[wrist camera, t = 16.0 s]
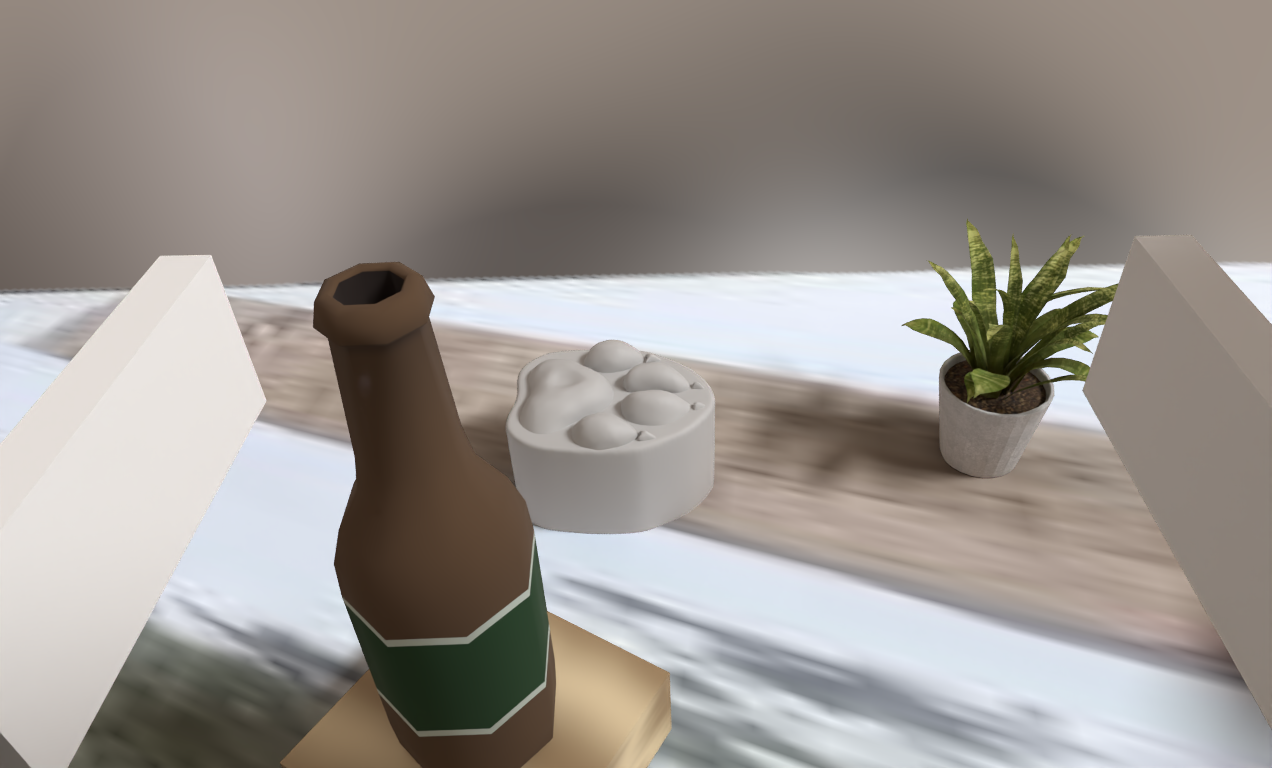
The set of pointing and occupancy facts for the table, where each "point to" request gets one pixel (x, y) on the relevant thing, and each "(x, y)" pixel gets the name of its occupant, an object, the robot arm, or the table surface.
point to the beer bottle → (433, 541)
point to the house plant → (1006, 357)
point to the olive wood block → (583, 719)
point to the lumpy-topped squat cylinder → (611, 439)
